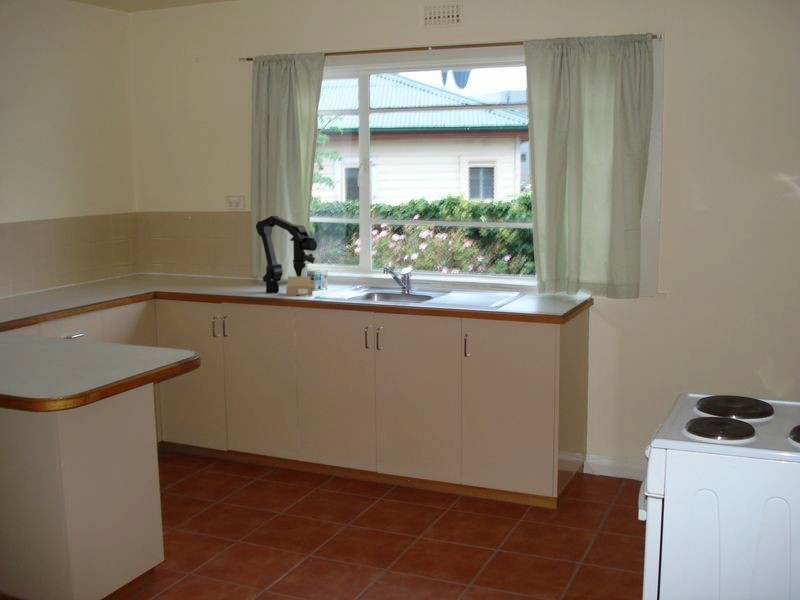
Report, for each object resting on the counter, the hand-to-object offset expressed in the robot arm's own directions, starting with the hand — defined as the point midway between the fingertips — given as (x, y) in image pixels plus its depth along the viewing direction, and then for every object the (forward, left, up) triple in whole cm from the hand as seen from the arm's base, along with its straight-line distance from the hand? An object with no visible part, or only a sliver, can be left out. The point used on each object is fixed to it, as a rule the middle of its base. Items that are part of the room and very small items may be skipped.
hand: (299, 278), depth 463 cm
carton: (0, +5, -9) cm, 10 cm away
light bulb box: (+10, +26, -9) cm, 30 cm away
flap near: (0, -1, -1) cm, 1 cm away
